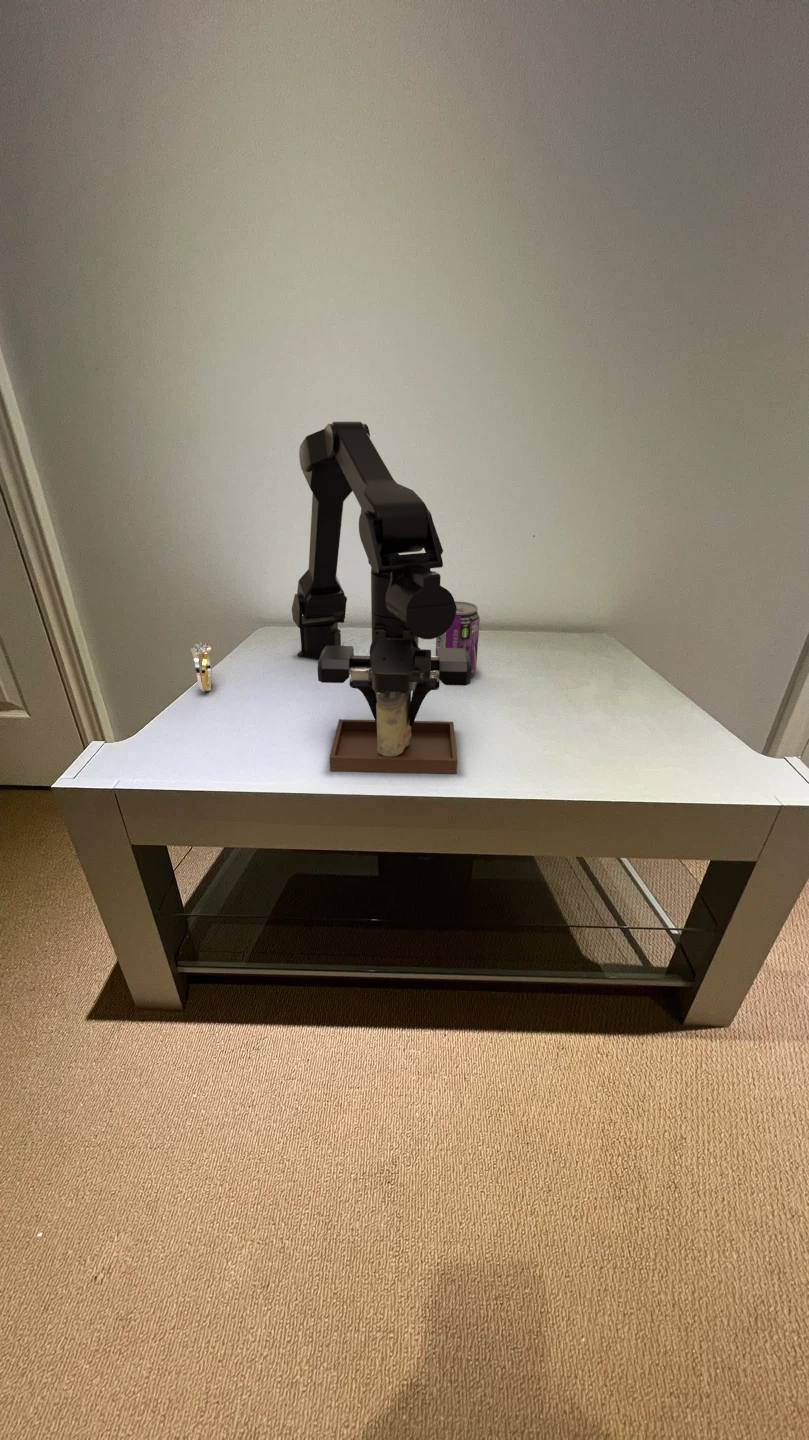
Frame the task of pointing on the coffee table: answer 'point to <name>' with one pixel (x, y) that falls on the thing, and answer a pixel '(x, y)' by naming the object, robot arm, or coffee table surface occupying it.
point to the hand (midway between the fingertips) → (394, 724)
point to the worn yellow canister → (393, 722)
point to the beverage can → (463, 632)
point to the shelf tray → (423, 755)
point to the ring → (203, 665)
